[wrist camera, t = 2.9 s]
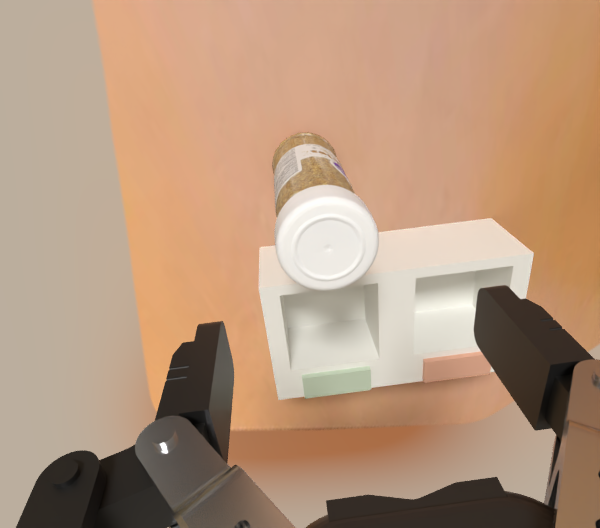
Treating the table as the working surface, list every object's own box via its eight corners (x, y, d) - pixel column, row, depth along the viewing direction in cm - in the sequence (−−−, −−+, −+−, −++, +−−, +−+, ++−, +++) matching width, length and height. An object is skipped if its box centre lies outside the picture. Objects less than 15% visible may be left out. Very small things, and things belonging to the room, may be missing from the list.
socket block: (491, 218, 33) (537, 256, 28) (478, 326, 38) (515, 376, 33) (259, 247, 33) (258, 291, 27) (276, 352, 38) (279, 407, 32)
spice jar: (349, 157, 30) (403, 238, 18) (308, 206, 32) (335, 311, 20) (297, 116, 29) (320, 176, 17) (257, 170, 30) (253, 260, 18)
